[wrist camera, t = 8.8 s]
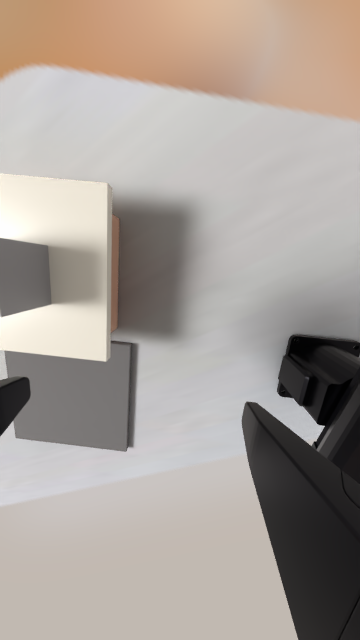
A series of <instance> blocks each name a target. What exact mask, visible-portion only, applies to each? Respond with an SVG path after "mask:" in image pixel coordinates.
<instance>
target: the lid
mask: <svg viewBox="0 0 360 640" xmlns="http://www.w3.org/2000/svg"><path fill="white" fill-rule="evenodd" d="M111 257H112V187H111V186H110V185H109V184H108V183H102V182H91V181H79V180H68V179H57V178H45V177H34V176H22V175H11V174H0V350H6V351H15V352H24V353H33V354H42V355H51V356H60V357H69V358H78V359H86V360H95V361H104V362H107V360H108V359H109V358H110V343H111Z"/></svg>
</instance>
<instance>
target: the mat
mask: <svg viewBox="0 0 360 640" xmlns="http://www.w3.org/2000/svg"><path fill="white" fill-rule="evenodd" d="M131 350H132V343H124V342H114V341H111V343H110V358H109V359H108V360H107V362H104V361H95V360H86V359H78V358H69V357H60V356H51V355H42V354H33V353H24V352H15V351H6V350H5V358H6V366H7V374H8V378H10V377H14V376H25V377H28V378H29V380H30V390H31V396H30V399H29V401H28V402H27V403H26V405H25V406H24V407H23V408H22V410H21V411H20V412H19V414H18V415H17V416H16V417H15V419H14V428H15V436H16V438H19V439H28V440H36V441H44V442H52V443H60V444H68V445H76V446H85V447H93V448H101V449H109V450H117V451H125V452H126V451H127V448H128V429H129V403H130V376H131Z"/></svg>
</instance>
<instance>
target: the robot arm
mask: <svg viewBox="0 0 360 640" xmlns="http://www.w3.org/2000/svg"><path fill="white" fill-rule="evenodd" d="M294 339H297V341H296V342H294ZM355 345H356V346H355ZM354 346H355V348H353V347H354ZM359 354H360V343H359V342H357V341H351V340H342V339H332V338H322V337H313V336H303V335H292V336H291V337H290V338H289V342H288V346H287V350H286V354H285V356H283V360H282V364H281V368H280V373H279V377H278V379H279V384H278V388H277V392H278V394H279V395H280V396H282V397H289V398H294V399H295V401H296V402H297V403H298V404H299V405H300V406H303V407H304V408H305V409H306V410H307V412H308V413H309V414H310V415H311V416H312V418H313V419H314V420H315V421H316V423H317V424H318V425H323V426H325V427H324V429H323V431H322V432H321V434H320V436H319V438H318V439H317V441H316V442H314V443H313V444H312V446H310V445H309V444H308V443H307V442H305V441H304V440H303V439H302V438H300V437H299V436H298V435H297V434H295V433H294V432H293V431H292V430H290V429H289V428H288V427H286V426H285V425H284V424H283V423H281V422H280V421H279V420H278V419H276V418H275V417H274V416H273V415H271V414H270V413H269V412H267V411H266V410H265V409H264V408H262V407H261V406H260V405H259V404H257V403H255V402H246V403H245V406H244V411H243V416H242V428H243V434H244V440H245V445H246V451H247V457H248V462H249V466H250V470H251V474H252V478H253V481H254V485H255V488H256V492H257V495H258V499H259V502H260V506H261V509H262V513H263V516H264V520H265V523H266V527H267V531H268V534H269V538H270V541H271V545H272V548H273V552H274V555H275V559H276V562H277V566H278V569H279V573H280V577H281V580H282V583H283V587H284V590H285V594H286V598H287V601H288V605H289V608H290V611H291V615H292V619H293V622H294V626H295V630H296V633H297V637H298V640H360V358H358V357H359ZM283 390H285V391H284V392H281V391H283ZM30 396H31V390H30V380H29V378H28V377H25V376H14V377H10V378H7V379H3V380H0V436H1V435H2V434H3V433H4V431H5V430H6V429H7V428H8V426H9V425H10V424H11V422H12V421H13V420H14V419H15V417H16V416H17V415H18V414H19V412H20V411H21V410H22V408H23V407H24V406H25V405H26V403H27V402H28V401H29V399H30Z"/></svg>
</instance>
